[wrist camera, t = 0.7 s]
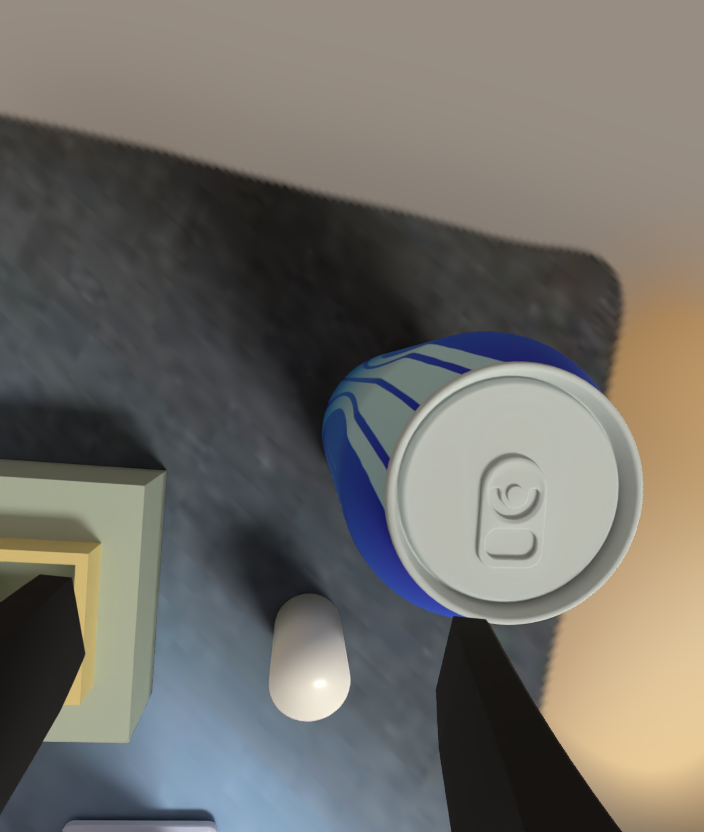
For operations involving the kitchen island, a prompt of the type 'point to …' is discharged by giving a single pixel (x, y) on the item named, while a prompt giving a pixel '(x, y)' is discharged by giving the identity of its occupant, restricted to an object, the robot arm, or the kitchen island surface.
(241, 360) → the kitchen island surface
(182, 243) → the kitchen island surface
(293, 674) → the pellet
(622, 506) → the beer can
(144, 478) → the square stacking base
